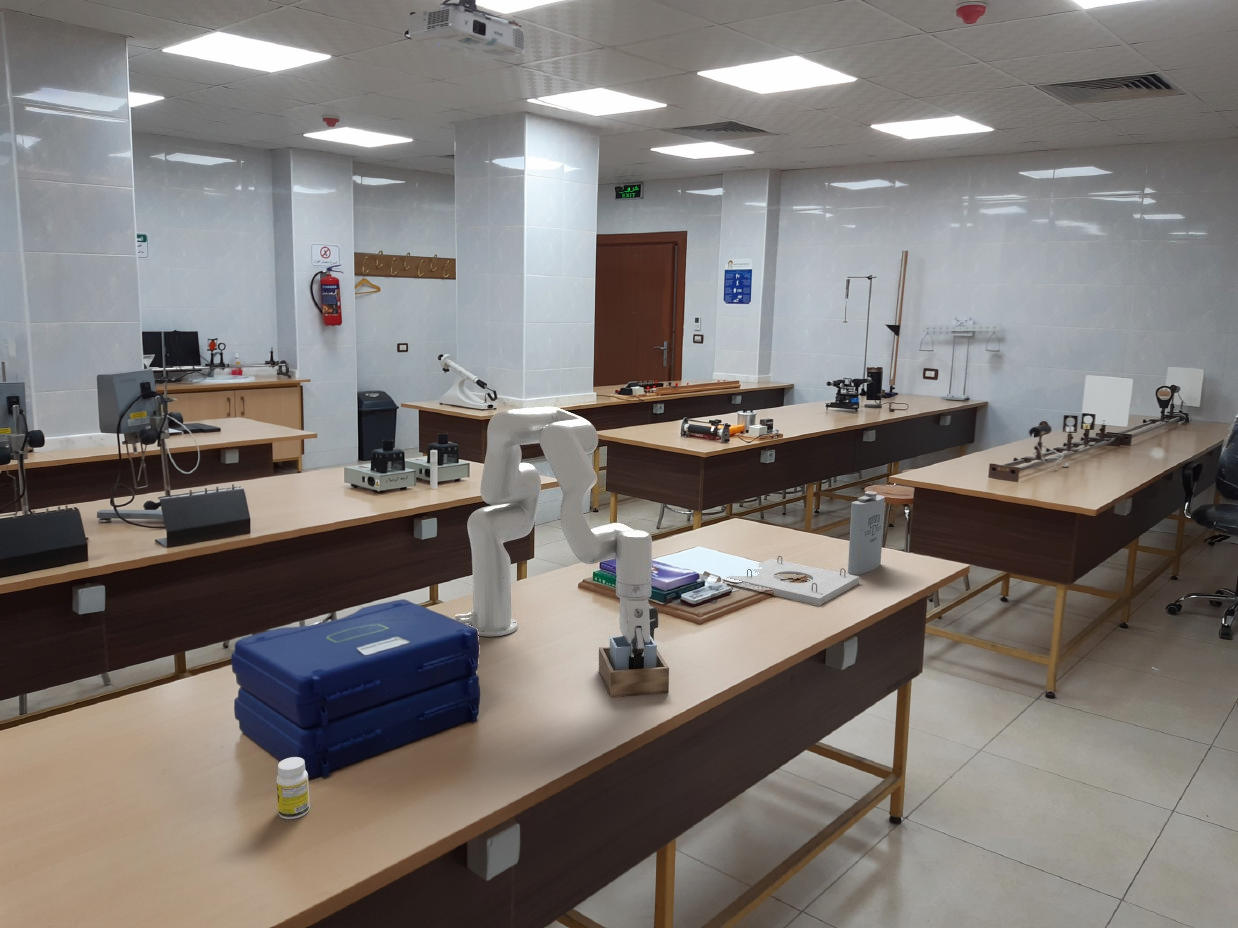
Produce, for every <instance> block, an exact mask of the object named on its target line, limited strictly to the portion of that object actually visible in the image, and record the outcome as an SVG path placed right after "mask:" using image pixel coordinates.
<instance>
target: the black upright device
mask: <svg viewBox="0 0 1238 928" xmlns="http://www.w3.org/2000/svg"><path fill="white" fill-rule="evenodd" d="M649 618H650V636H651V637H652V639H653V640H654V641H655V629H658V628H659V612H658V609H657V608H656V607H655V606H652V605H650V604H649Z"/></svg>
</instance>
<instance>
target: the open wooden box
mask: <svg viewBox="0 0 1238 928" xmlns="http://www.w3.org/2000/svg"><path fill="white" fill-rule="evenodd" d="M609 655H610V646H601V647H598V672H599V674H600V677H601V680H602V681H603V683H604V686H605V688H606V690H607V692H608V694H609V697H610V698H617V697H618V698H619V697H629V696H630V697H631V696H643V695H655V694H656V695H657V694H666V693H667V694H668V693H669V691H670V689H669V688H670V686H669V685H670V667H669V666H668V664H667V663H666V660H665V659H664V658H663V656H662V655H661V653H660V651H659V650H658V649H657V660H656V668H644V669H630V670H617V671H614V670H613V668H612V666H611V664H610V662H609Z"/></svg>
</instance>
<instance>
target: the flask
mask: <svg viewBox="0 0 1238 928" xmlns="http://www.w3.org/2000/svg"><path fill="white" fill-rule="evenodd" d="M885 499H886V497H885V495H880V494H879V495H878V492H877V491H871V490H870V491H868V490H867V491H865V492H864V495H862V496H861V497H857V500H856V501H855V500H854V501H851V508H850V509H851V511H850V525H849V526H850V527H849V529H850V530H849V544H848V563H847V574H850V575H854V576H859V575H862V574H865V573H868V572H871V571H873V570H875V569H877V568H879V567H880V566H881V562H882V547H883V533H884V531H883V529H884V517H885V516H884V515H885Z"/></svg>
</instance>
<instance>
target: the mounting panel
mask: <svg viewBox="0 0 1238 928" xmlns="http://www.w3.org/2000/svg"><path fill="white" fill-rule="evenodd" d="M779 558H780V559H781V560H780V559H779ZM758 565H759V566H758V567H759V568H760V567H762V569H754V570H753V569H752V570H753V571H755V573H756V572H757V574H758V572H759V574H758V575H757V576H753V575H752V570H751V569H748V568H747V569H748V570H750V571H751V576H748V570H747V576H731V575H730V576H727V577H726V579H727V578H730V579H734V580H739V581H742V582H745V583H749V584H751V585H755V586H761V587H765V588H769V589H772V590H773V591H774V595H773V596H776V597H779V598H784V599H789V600H793V601H798V602H801V603H806V604H808V605H809V604H811V605H814V606H819V607H820V606H821V605H824V604H826V602H828V601H831V600H832V599H834V598H836V597H837V596H839V595H841V594H843V593H844V592H846V591H848V590H850V589H852V588H853V587H855V586H857V585H859V584H860V576H859V575H854V574H850V573H846V569H845V568H843V567H842V568H840V570H839V572H838V571H833V570H829V569H825V568H819V567H814V566H809V565H803V564H799V563H794V562H790V561H786V560H783V557H782V555H778V556H777V559H775V558H768V559H767V560H764V561H762V562H759V563H758ZM842 570H843V571H844V572H842ZM777 574H796V575H805V576H806V577H808V578H807V579H808V580H807V582H805V581H804V582H790V581H783V580H778V579H776V578H775V577H774V575H777Z"/></svg>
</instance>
